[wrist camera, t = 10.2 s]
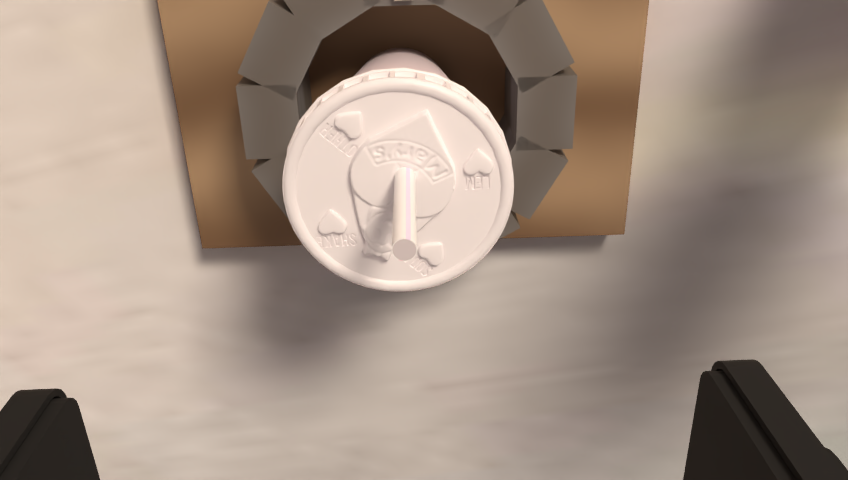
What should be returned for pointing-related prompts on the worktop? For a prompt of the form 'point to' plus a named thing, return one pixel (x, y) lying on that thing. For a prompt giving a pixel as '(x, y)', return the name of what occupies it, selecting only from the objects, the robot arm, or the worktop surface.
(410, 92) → the smoothie
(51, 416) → the robot arm
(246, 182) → the block
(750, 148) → the worktop surface
